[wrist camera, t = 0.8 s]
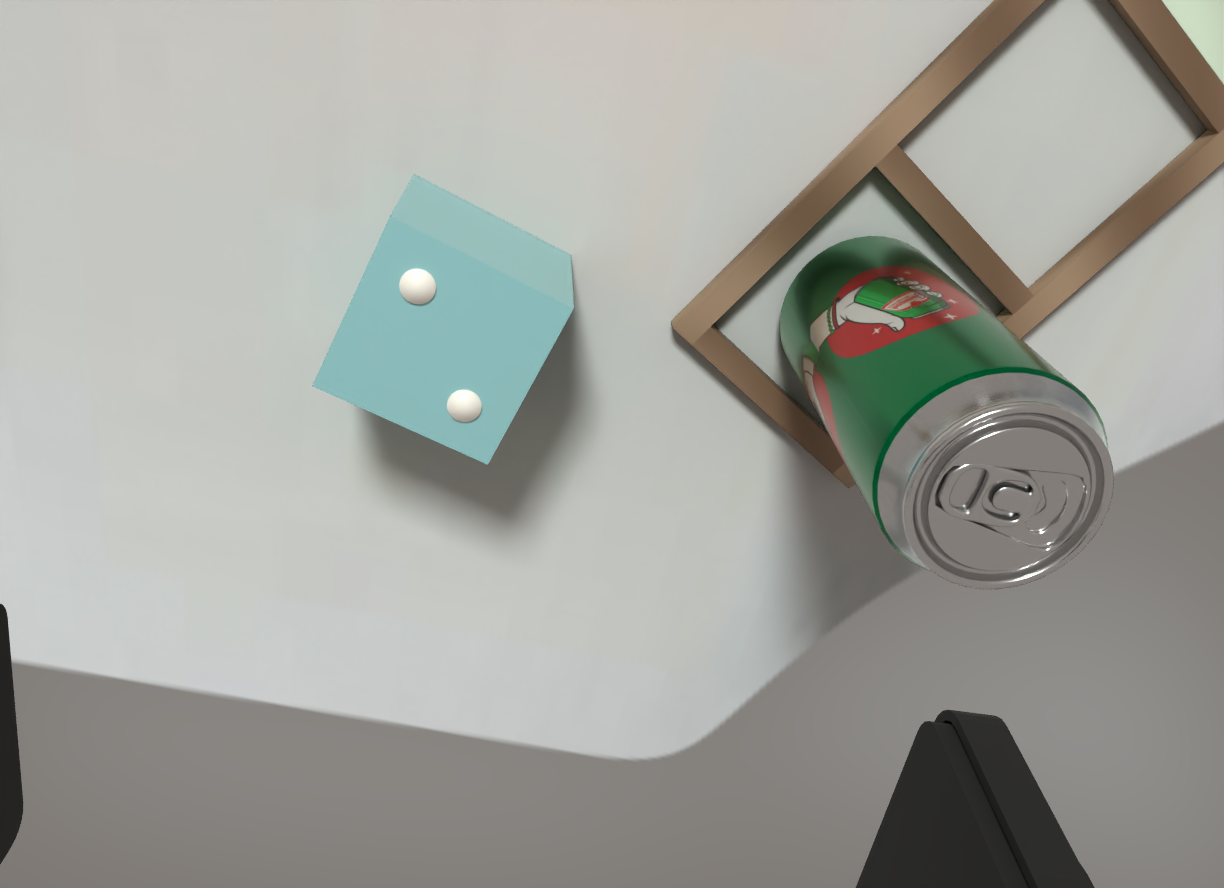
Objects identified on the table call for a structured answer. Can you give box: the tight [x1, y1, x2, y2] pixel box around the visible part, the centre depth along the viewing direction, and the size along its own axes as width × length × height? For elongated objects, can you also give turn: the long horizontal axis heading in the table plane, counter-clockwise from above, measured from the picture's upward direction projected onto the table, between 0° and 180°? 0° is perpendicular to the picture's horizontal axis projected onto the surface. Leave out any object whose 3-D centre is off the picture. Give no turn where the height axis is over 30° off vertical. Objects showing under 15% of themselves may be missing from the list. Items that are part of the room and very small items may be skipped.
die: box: [313, 174, 574, 465], centre depth 29 cm, size 5×5×5 cm
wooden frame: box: [671, 0, 1224, 488], centre depth 30 cm, size 23×8×1 cm, turn 136°
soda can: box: [780, 236, 1114, 589], centre depth 27 cm, size 5×5×12 cm
